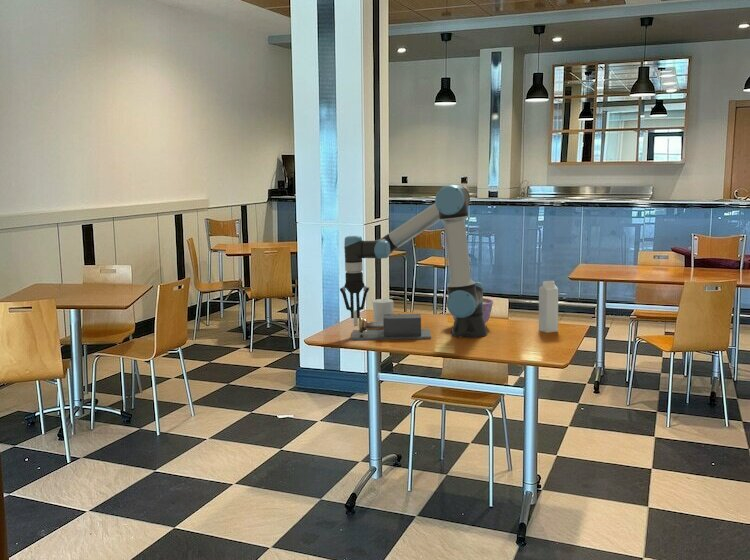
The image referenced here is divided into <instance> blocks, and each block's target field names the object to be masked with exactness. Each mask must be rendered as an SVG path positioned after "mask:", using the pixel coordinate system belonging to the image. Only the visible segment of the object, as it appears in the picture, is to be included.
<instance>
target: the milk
mask: <svg viewBox="0 0 750 560" xmlns="http://www.w3.org/2000/svg"><path fill="white" fill-rule="evenodd" d="M555 282H556V281H555V280H546V281H545V280H544V281H542V285H541V286H539V287H538V331H540V332H543V333H548V334H549V333H556V332H559V288H558V286H556V284H555Z"/></svg>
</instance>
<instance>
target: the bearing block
mask: <svg viewBox="0 0 750 560" xmlns="http://www.w3.org/2000/svg"><path fill="white" fill-rule="evenodd" d="M383 322H384V328H383V329H367V331H363V333H360V332H359V329H353V330H352V333H351V337H350V341H377V340H378V341H379V340H380V341H383V340H385V341H386V340H387V341H388V340H389V341H390V340H393V341H394V340H431V339H432V336H431V329H430V328H422V316H421V313H395V314H394V313H393V314H384V318H383Z"/></svg>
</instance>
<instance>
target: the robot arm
mask: <svg viewBox="0 0 750 560" xmlns="http://www.w3.org/2000/svg"><path fill="white" fill-rule="evenodd" d="M434 197H435V198H434V202H433V204H431V205H430V206H428V207H426V208H425V209H424V210H422V211H421V212H418V214H416V215H415V216H413V217H412V218H410V219H408V220H407V221H405V222H404V223H403V224H401V225H400V226H398V227H397V228H395V229H394V230H392V231H391V232H389V233H387V234H386V235H384V236H383V237H381V238H379V239H375V240H363V239H362V238H363V237H362V236H361V235H349V236H345V237H344V243H343V246H344V247H343V248H344V270H345V282H344V286H342V287H340V288H339V291H340V292H341V294H342V297H343V298H342V299H343V301H344V304H345V308H346V311H347V310H348V311H349V312H350V317H351V319H353V327H358V326H359V320H358V319H359V318H361V313H360V312H361V311H362V310H364V309H365V303H366V299H367V293H369V290H370V287H369V286H367V285H365V283H364V273H363V271H364V269H363V268H364V267H363V259H378V260H379V259H380V260H382V259H387V258H389V257H390V255H391V254H392V253H393V252H394V251H396V250H397V249H399V248H400V247H402V246H403V245H405V244H406V243H407V242H409V241H411V240H412V239H414V238H415V237H417V236H419V235H420V234H422V233H424V232H425V231H426V230H428V229H429V228H430V227H433V226H434V225H435V224H437V223H438V222H440V221H441V222H442V223H443V228H444V235H445V236H444V237H445V244H446V245H445V246H446V247H445V248H446V255H447V263H448V272H449V282H448V283H447V286H446V289H447V298H446V308H447V310H448V312H449V313H450V314H451V315H454V316H456V318H455V320H454V321H453V326H452V327H451V335H452V336H453V337H458V338H469V339H471V338H473V339H474V338H481V337H485V336H487V335H488V328H487V327H486V323H485V322H484V319H483V298H484V286H483V283H482V282H481V281H480V282H479V281H474V280H473V279H472V276H471V269H470V268H471V266H470V265H471V264H470V258H469V249H468V238H467V230H466V229H467V228H466V222H465V221H466V220H467V219H468V217H469V214H468V213H469V212H468V206H469V205H470V202H471V194H470V192H469V191H468V189H467V188H466V186H464V185H461V184H447V185H444V186H443V187H441V188H440V189H439V190H438V191H437V193H436V195H435V196H434ZM346 290H347V291H348V293H349V297H350V303H349V300H348V296H347V293H346ZM361 291H363V296H362V300H361V301H362V302H361V305H360V292H361ZM354 294H355V299H356V300H355V301H356V309H355V307H354V306H355V303H354Z"/></svg>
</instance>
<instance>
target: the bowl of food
mask: <svg viewBox="0 0 750 560" xmlns="http://www.w3.org/2000/svg"><path fill="white" fill-rule="evenodd" d="M493 305H494V300H493V299H491V298H490V299H489V298H485V297H483V319H484V322H485V324H486V323H488V322H489V320H490V316H491V312H492V308H493ZM451 315H452V314H451ZM455 318H456V316H454V315H452V319H453V320H454V321H455Z"/></svg>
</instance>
